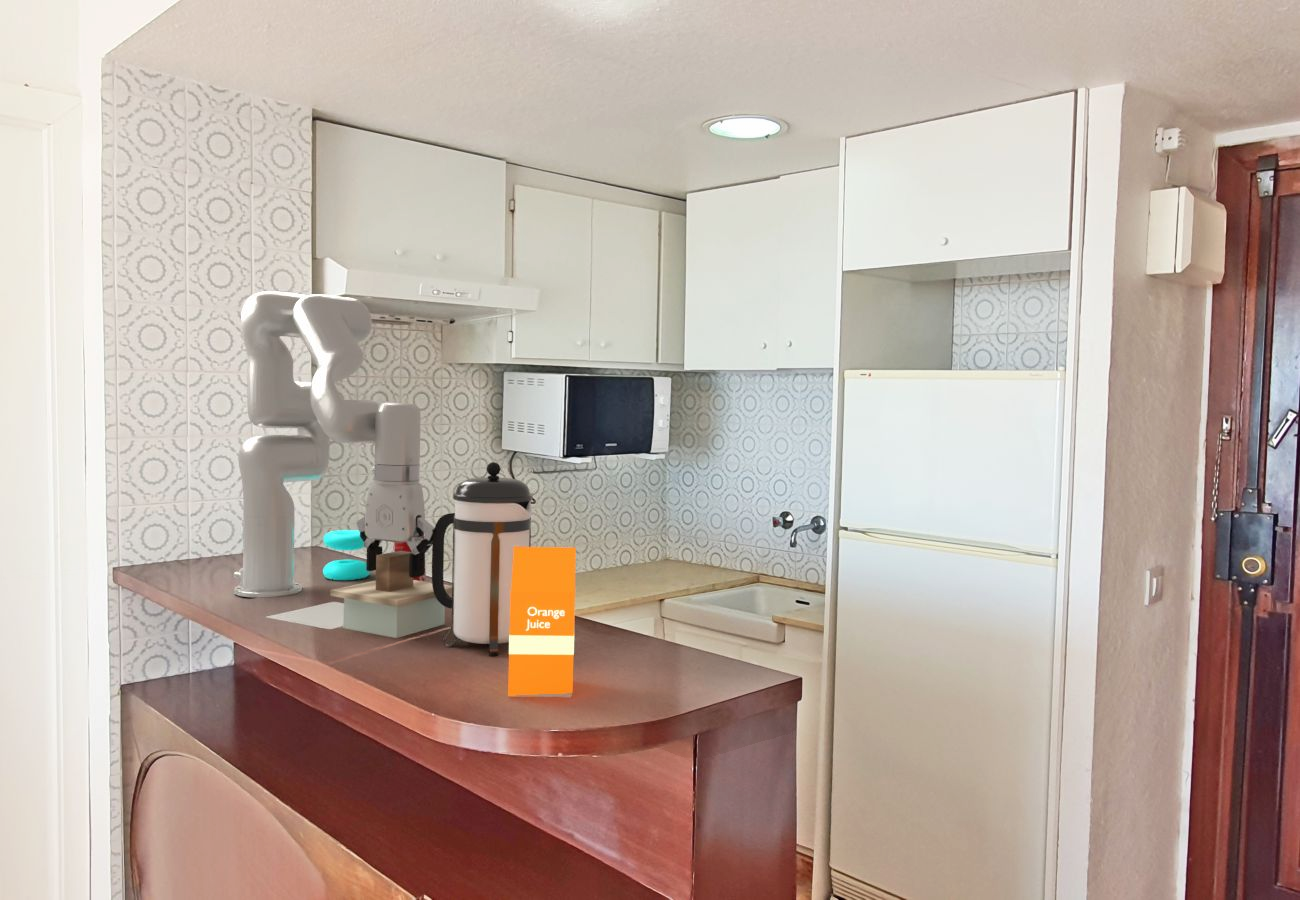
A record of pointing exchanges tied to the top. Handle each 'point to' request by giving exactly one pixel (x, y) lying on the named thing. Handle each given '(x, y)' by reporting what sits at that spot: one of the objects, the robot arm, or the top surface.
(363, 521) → the robot arm
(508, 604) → the coffee press
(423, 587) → the lid
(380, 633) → the dish
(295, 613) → the mat
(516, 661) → the orange juice
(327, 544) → the donuts
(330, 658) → the top surface
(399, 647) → the top surface
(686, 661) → the top surface
